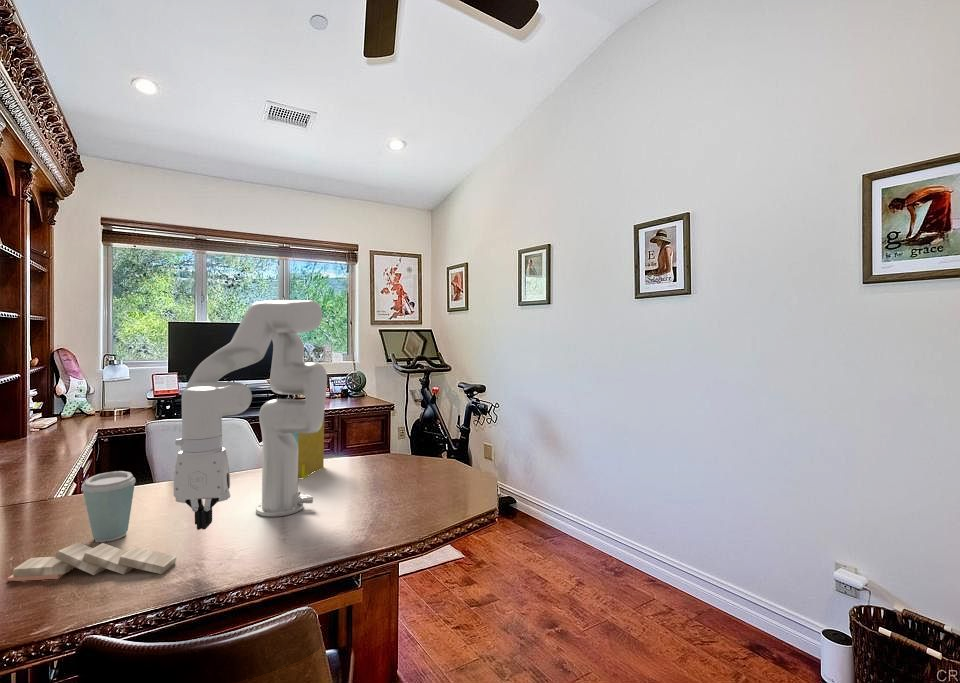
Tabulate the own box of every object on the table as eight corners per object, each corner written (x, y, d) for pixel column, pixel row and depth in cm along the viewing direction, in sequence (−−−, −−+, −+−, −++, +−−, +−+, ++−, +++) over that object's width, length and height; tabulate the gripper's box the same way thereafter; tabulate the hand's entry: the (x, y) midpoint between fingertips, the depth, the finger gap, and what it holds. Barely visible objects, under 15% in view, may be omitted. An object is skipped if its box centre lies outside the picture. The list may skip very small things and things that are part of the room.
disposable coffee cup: (134, 540, 119) (135, 478, 119) (77, 550, 113) (78, 485, 113) (136, 526, 128) (137, 468, 128) (83, 534, 122) (84, 473, 122)
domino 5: (177, 556, 108) (135, 546, 107) (163, 566, 103) (120, 556, 102) (175, 563, 108) (133, 553, 107) (161, 574, 103) (118, 564, 102)
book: (302, 479, 173) (303, 407, 172) (285, 477, 174) (286, 406, 174) (327, 466, 189) (328, 401, 189) (311, 465, 191) (312, 400, 190)
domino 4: (142, 556, 107) (102, 542, 107) (126, 567, 102) (85, 552, 102) (139, 563, 107) (100, 549, 107) (123, 574, 102) (82, 560, 102)
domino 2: (74, 563, 105) (26, 566, 104) (57, 575, 100) (7, 577, 99) (74, 571, 105) (26, 573, 104) (57, 583, 100) (7, 585, 99)
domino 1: (79, 555, 106) (30, 557, 104) (64, 566, 101) (13, 569, 99) (79, 562, 106) (30, 565, 104) (64, 573, 101) (13, 577, 99)
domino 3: (115, 558, 106) (78, 542, 107) (97, 568, 101) (58, 550, 102) (113, 565, 106) (75, 549, 107) (94, 575, 101) (55, 558, 102)
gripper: (156, 449, 102) (158, 536, 103) (233, 447, 105) (234, 532, 106) (173, 440, 110) (174, 521, 111) (244, 438, 112) (245, 518, 113)
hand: (203, 526), depth 108 cm, fingers closed
